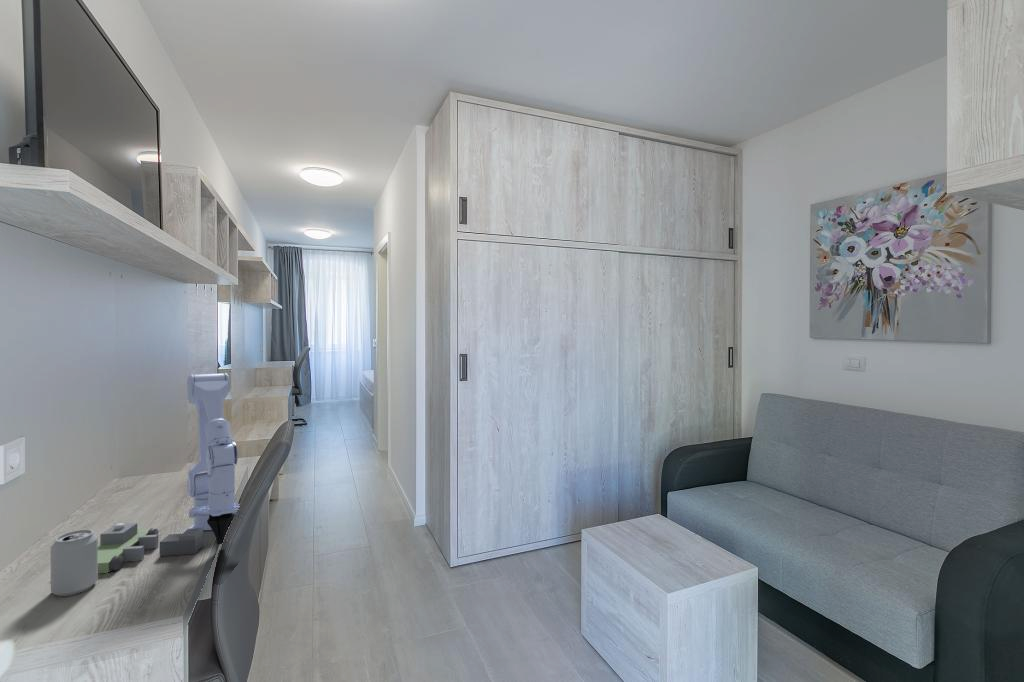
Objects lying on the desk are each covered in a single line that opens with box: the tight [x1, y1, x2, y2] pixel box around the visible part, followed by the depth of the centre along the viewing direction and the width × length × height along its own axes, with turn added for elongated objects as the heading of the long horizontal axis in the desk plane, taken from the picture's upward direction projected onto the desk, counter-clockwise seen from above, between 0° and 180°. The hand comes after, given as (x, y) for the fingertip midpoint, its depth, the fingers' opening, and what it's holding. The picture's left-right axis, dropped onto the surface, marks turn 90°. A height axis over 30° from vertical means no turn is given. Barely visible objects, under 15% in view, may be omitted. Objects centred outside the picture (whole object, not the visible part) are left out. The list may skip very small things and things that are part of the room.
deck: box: [98, 522, 159, 574], centre depth 116 cm, size 18×14×6 cm
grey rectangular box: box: [159, 528, 204, 557], centre depth 119 cm, size 4×8×5 cm, turn 101°
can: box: [50, 528, 99, 597], centre depth 102 cm, size 8×8×12 cm
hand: (221, 542), depth 121 cm, fingers closed
